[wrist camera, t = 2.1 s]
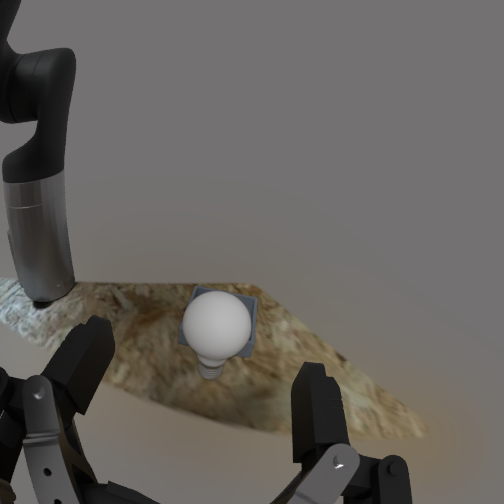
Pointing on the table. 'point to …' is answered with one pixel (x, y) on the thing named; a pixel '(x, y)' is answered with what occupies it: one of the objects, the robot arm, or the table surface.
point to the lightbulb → (216, 330)
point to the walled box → (250, 305)
